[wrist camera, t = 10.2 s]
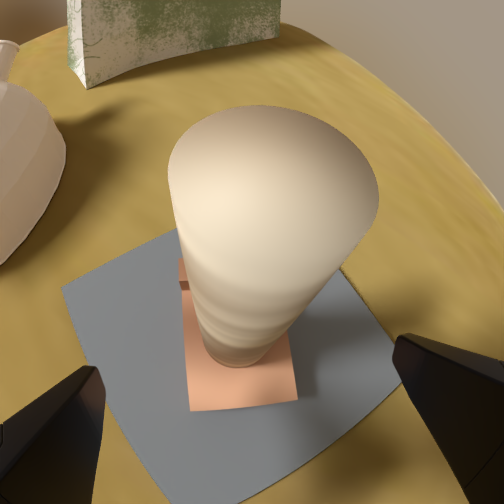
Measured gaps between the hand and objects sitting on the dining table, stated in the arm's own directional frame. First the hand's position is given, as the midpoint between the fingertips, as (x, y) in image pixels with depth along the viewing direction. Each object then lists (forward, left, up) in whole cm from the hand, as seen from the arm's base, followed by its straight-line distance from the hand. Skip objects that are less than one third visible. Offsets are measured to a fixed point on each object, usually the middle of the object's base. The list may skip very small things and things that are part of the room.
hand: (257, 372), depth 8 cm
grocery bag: (+43, -15, -9) cm, 47 cm away
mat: (+2, -1, -9) cm, 9 cm away
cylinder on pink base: (+2, -1, -8) cm, 8 cm away
